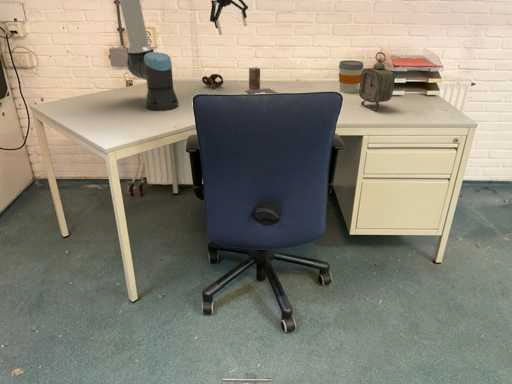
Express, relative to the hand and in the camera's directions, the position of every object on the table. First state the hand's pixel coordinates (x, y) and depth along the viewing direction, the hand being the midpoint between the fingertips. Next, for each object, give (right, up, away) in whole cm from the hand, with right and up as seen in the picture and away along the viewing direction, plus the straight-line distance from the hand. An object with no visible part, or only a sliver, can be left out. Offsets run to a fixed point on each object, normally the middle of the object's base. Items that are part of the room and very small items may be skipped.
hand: (233, 29), depth 202 cm
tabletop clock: (+67, -41, -11) cm, 80 cm away
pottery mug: (-12, -23, +22) cm, 34 cm away
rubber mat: (+14, -28, +12) cm, 34 cm away
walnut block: (+11, -25, +19) cm, 33 cm away
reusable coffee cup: (+62, -27, +17) cm, 69 cm away
